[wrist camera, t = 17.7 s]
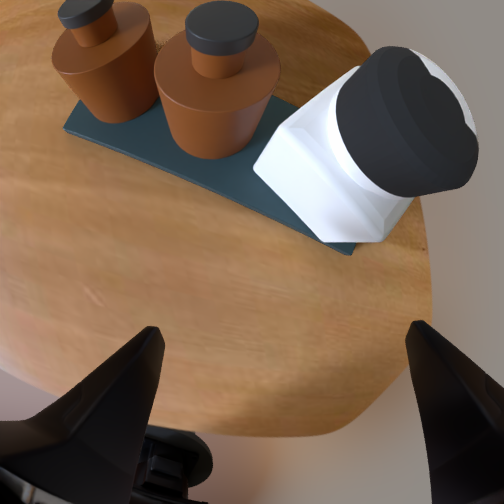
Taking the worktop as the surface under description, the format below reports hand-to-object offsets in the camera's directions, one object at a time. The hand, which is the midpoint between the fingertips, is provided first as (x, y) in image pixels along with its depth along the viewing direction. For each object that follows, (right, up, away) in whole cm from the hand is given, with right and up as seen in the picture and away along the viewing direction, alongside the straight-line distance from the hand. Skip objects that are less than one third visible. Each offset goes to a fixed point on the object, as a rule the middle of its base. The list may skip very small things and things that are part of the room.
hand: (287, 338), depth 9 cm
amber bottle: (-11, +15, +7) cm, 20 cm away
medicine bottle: (+4, +8, +10) cm, 13 cm away
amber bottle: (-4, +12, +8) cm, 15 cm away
